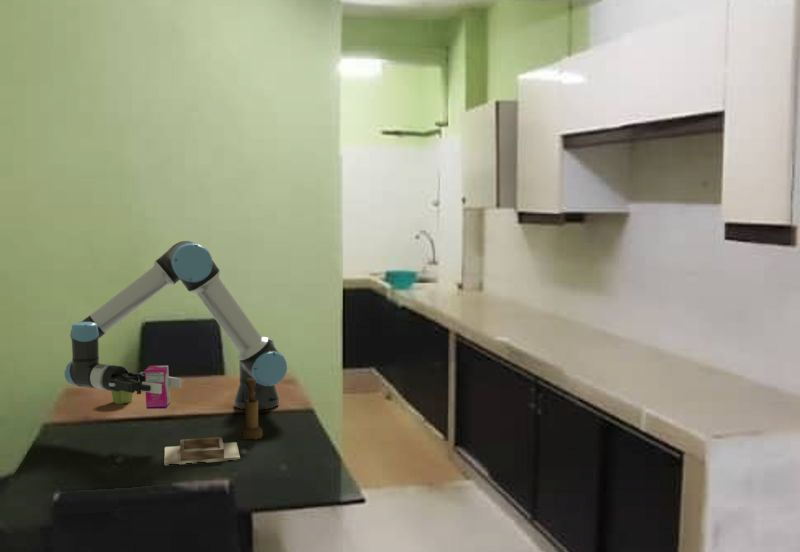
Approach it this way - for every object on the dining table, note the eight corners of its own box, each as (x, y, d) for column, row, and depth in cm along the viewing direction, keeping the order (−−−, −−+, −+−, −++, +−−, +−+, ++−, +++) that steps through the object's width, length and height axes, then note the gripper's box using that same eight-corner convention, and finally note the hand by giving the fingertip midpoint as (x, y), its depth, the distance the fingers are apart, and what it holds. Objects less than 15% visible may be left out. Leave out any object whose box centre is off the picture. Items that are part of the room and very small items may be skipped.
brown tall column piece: (266, 435, 249) (266, 376, 248) (256, 441, 243) (255, 381, 241) (247, 432, 252) (246, 374, 250) (236, 438, 245) (235, 379, 244)
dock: (236, 444, 239) (236, 433, 239) (239, 459, 226) (239, 448, 226) (164, 449, 234) (164, 438, 234) (164, 465, 221) (164, 453, 220)
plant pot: (127, 406, 281) (127, 381, 281) (102, 404, 283) (102, 379, 282) (141, 399, 291) (141, 375, 290) (117, 397, 292) (116, 373, 292)
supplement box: (149, 403, 240) (148, 365, 239) (170, 403, 241) (169, 365, 240) (145, 409, 235) (144, 369, 234) (166, 408, 235) (165, 369, 234)
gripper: (135, 383, 254) (194, 391, 245) (84, 397, 236) (145, 407, 226) (134, 359, 254) (193, 366, 244) (83, 371, 235) (145, 380, 225)
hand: (170, 386), depth 235 cm, fingers closed on supplement box, 8 cm apart
